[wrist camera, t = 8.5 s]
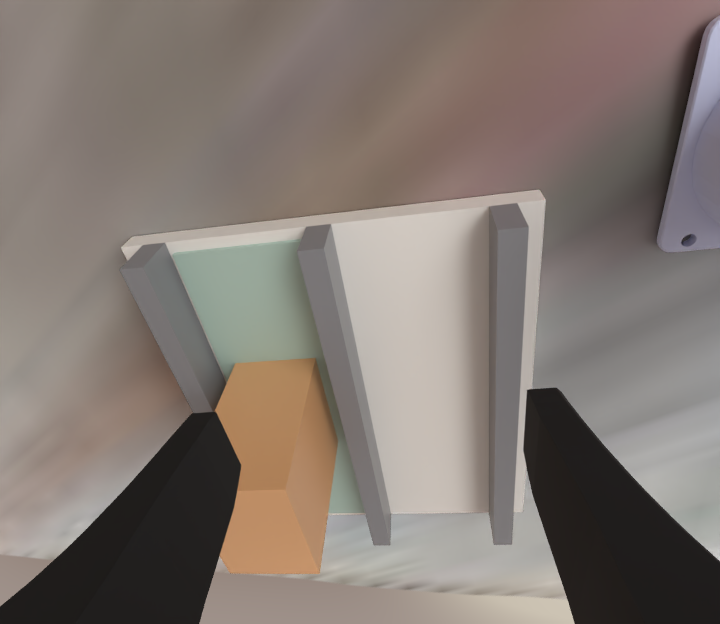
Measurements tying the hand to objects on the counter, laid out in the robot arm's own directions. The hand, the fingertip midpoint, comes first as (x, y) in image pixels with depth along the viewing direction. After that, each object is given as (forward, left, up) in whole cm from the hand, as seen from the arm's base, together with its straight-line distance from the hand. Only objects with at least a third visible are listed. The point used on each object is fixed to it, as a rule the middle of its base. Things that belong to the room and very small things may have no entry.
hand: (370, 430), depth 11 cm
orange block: (+6, +8, -9) cm, 14 cm away
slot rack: (+2, +9, -10) cm, 14 cm away
